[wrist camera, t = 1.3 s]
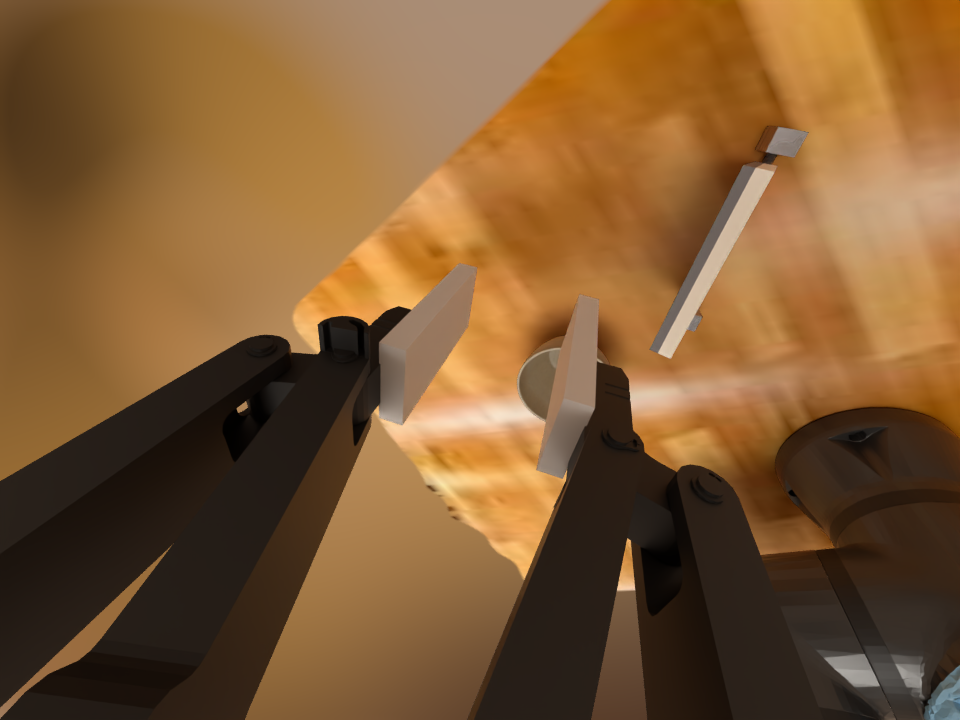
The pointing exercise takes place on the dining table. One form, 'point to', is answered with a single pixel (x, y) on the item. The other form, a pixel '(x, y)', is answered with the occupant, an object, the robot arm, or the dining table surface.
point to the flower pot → (542, 376)
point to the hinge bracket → (773, 144)
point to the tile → (713, 254)
